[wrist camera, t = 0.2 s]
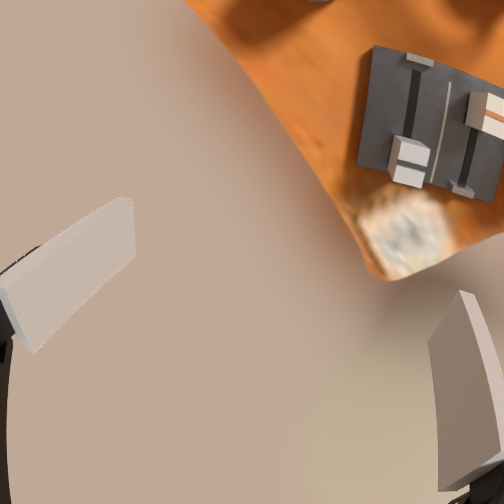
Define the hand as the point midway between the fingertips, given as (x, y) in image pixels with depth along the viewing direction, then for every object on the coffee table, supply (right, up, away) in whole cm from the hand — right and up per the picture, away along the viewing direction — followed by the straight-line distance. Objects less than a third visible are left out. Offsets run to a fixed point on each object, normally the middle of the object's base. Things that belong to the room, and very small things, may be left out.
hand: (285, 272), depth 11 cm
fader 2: (+23, +16, +13) cm, 31 cm away
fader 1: (+15, +11, +19) cm, 27 cm away
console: (+20, +15, +17) cm, 31 cm away
